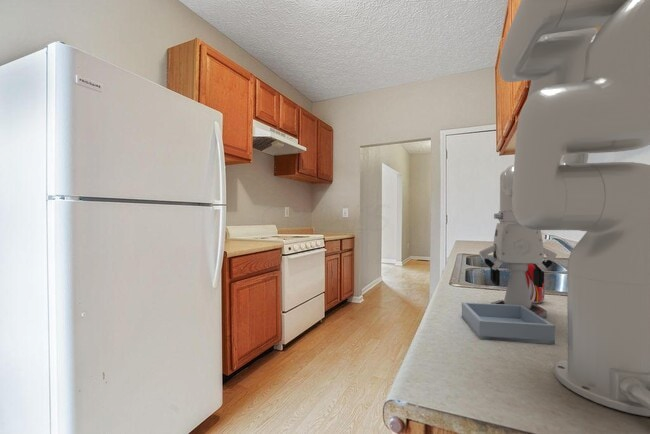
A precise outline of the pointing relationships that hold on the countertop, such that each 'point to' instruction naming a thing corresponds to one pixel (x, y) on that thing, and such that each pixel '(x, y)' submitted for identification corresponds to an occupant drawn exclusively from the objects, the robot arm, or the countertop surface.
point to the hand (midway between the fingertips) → (516, 285)
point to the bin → (507, 323)
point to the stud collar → (535, 308)
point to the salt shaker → (517, 286)
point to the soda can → (534, 286)
